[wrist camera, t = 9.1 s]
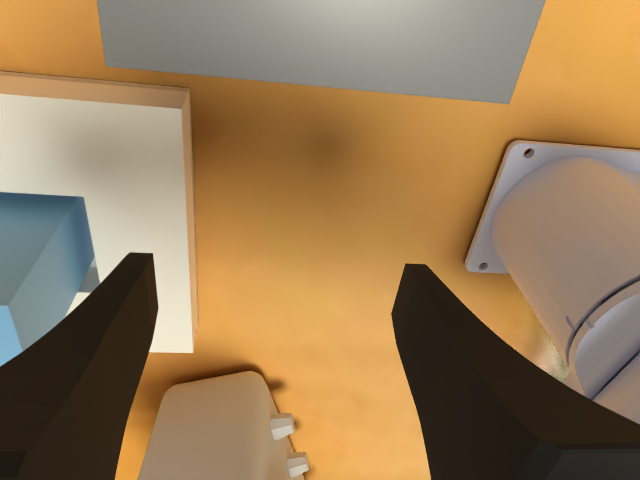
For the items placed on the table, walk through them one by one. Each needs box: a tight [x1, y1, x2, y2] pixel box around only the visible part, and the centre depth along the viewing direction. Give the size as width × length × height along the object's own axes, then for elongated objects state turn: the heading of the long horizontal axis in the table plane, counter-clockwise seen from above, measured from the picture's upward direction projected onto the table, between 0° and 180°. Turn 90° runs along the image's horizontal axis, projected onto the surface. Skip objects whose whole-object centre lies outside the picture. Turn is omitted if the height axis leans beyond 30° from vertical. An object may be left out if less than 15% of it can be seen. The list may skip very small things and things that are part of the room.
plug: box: [0, 192, 95, 366], centre depth 20 cm, size 4×5×8 cm
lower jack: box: [0, 71, 199, 353], centre depth 23 cm, size 14×14×2 cm
